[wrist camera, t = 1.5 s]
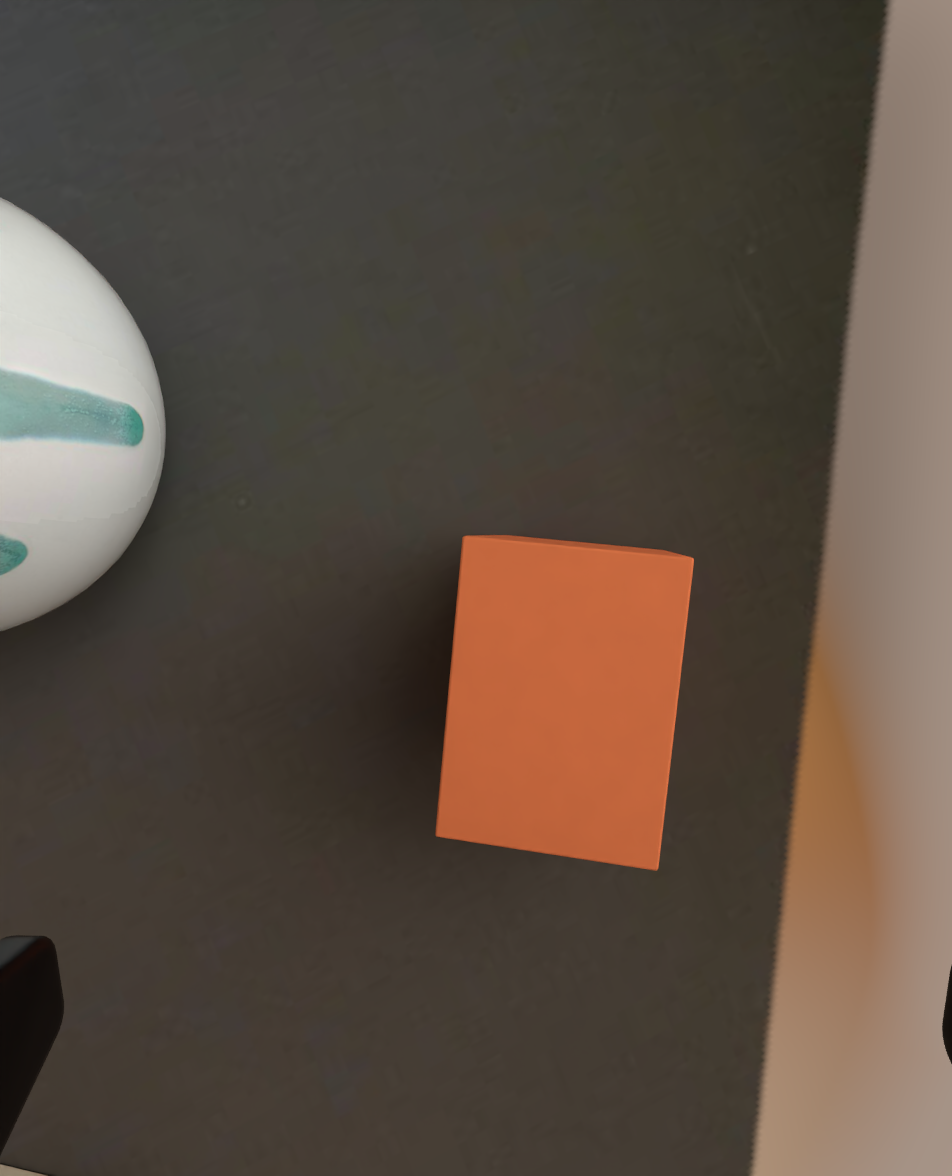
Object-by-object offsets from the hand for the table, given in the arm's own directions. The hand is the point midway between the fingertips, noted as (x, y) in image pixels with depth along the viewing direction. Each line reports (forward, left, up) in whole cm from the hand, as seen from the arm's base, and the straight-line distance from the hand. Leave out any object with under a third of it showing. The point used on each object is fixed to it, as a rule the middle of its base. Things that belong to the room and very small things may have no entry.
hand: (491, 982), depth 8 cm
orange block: (+1, -1, -15) cm, 15 cm away
